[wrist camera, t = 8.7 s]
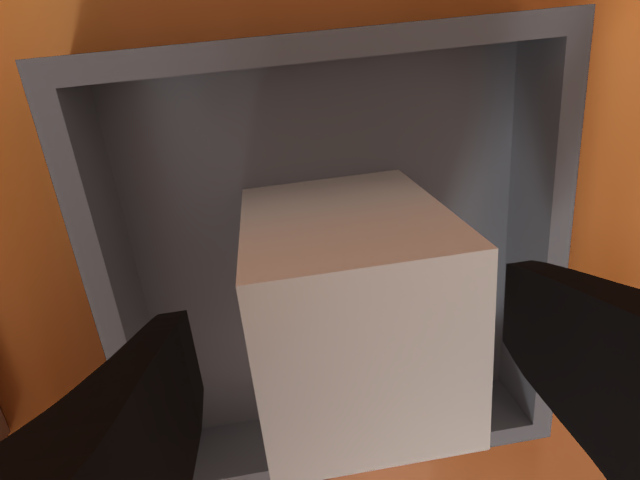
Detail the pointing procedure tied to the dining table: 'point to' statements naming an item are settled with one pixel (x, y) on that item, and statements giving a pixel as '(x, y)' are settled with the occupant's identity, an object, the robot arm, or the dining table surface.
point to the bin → (306, 171)
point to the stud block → (3, 427)
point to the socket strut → (365, 325)
